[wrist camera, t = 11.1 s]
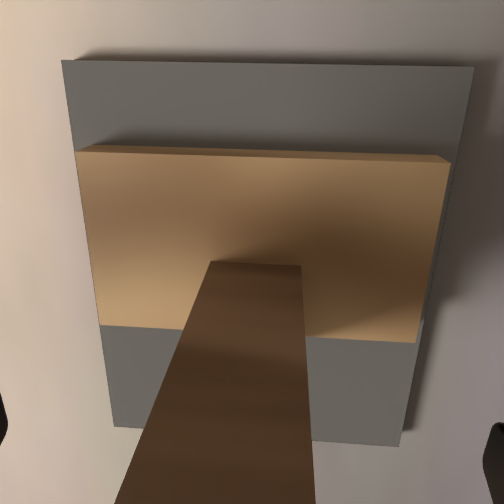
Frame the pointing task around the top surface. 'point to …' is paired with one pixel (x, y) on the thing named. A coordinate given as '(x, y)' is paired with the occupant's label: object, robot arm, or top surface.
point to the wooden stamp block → (251, 295)
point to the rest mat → (274, 138)
